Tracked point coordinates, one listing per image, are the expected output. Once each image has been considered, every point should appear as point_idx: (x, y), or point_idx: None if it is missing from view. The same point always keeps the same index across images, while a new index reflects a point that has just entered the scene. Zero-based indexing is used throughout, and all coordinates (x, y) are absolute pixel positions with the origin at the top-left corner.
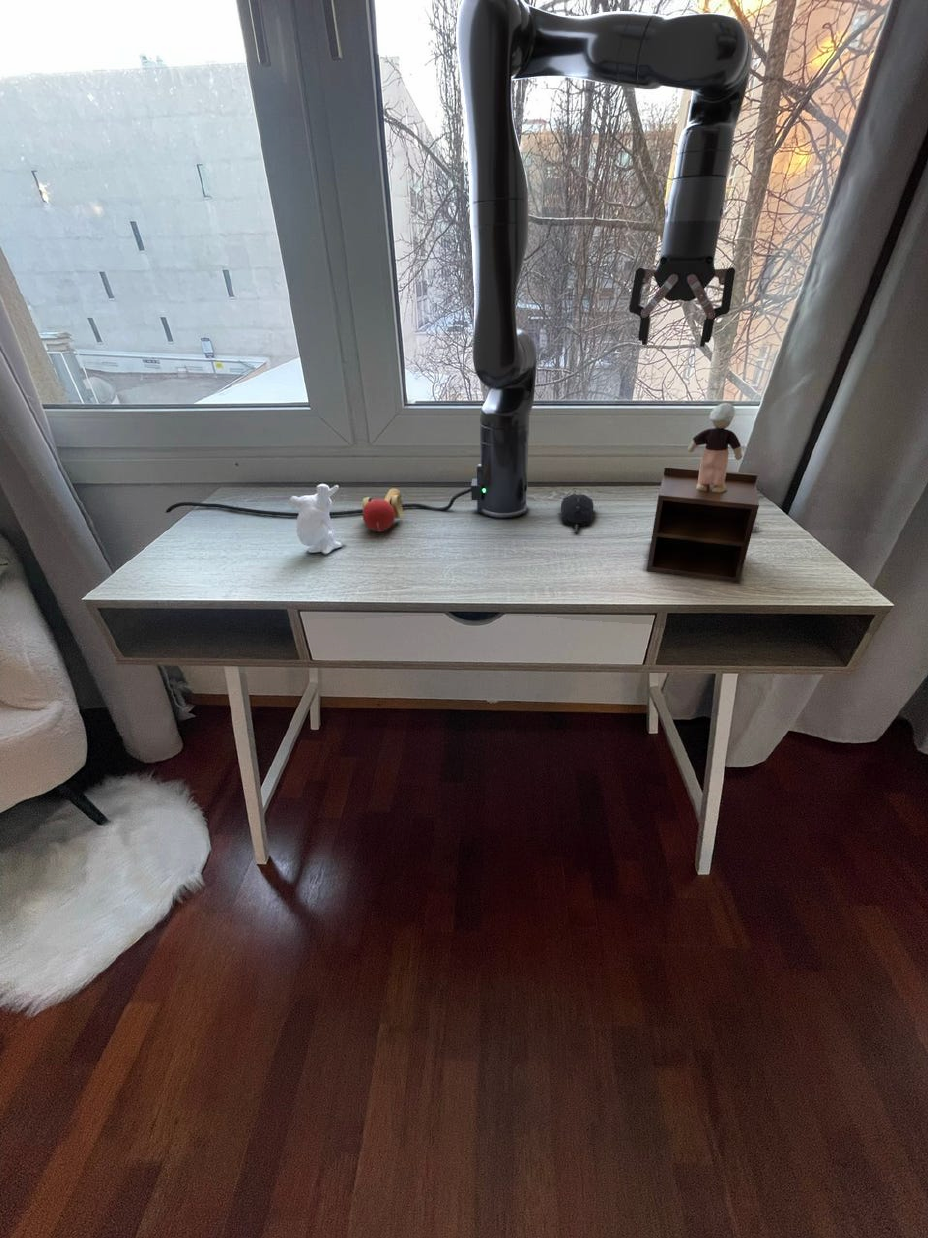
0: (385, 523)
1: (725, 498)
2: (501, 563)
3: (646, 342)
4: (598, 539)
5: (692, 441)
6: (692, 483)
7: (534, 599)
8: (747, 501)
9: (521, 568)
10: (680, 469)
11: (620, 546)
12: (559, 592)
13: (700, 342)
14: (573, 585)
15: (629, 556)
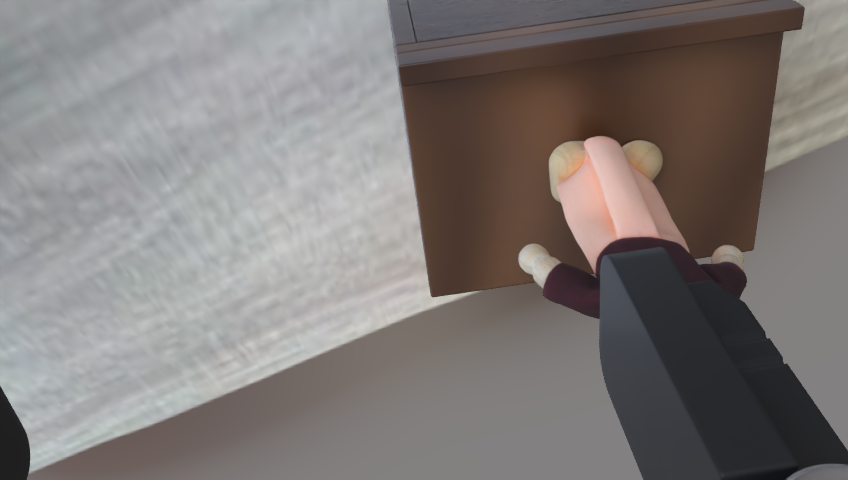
0: None
1: None
2: (32, 285)
3: (22, 463)
4: (195, 6)
5: (540, 282)
6: (531, 135)
7: (216, 388)
8: (721, 237)
9: (98, 286)
10: (471, 75)
11: (287, 30)
12: (250, 343)
13: (614, 401)
14: (264, 305)
15: (338, 91)
